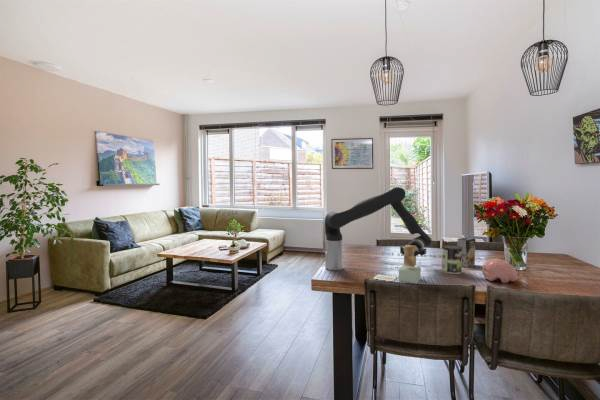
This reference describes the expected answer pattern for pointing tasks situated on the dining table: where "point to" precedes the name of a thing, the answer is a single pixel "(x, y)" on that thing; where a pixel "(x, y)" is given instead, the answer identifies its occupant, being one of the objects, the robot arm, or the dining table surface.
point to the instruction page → (384, 277)
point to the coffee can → (451, 259)
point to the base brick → (409, 274)
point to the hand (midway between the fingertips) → (409, 253)
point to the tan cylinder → (409, 255)
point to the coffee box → (467, 251)
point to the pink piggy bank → (499, 270)
